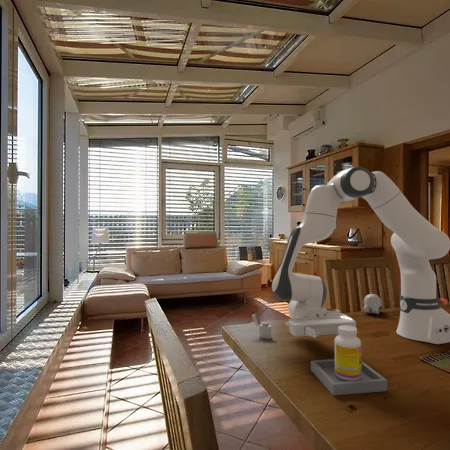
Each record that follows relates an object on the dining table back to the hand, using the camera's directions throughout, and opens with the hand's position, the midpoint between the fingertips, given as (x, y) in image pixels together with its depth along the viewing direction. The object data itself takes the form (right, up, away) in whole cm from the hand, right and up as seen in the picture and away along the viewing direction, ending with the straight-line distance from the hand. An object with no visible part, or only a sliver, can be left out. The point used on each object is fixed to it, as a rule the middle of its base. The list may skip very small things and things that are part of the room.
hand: (332, 334), depth 97 cm
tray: (+1, -9, -8) cm, 12 cm away
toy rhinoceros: (+36, -8, +56) cm, 67 cm away
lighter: (-18, -9, +26) cm, 33 cm away
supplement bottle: (+2, -9, -8) cm, 12 cm away
